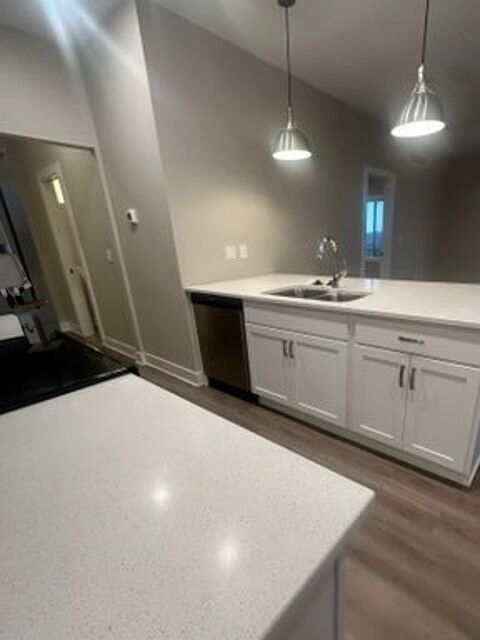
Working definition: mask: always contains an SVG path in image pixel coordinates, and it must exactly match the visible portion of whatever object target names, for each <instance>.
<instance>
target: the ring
mask: <svg viewBox="0 0 480 640" xmlns="http://www.w3.org/2000/svg"><path fill="white" fill-rule="evenodd" d="M29 304H30V305H29ZM48 304H49V301H48V300H46V299H33V300H29V301H26V302H25V304H24V305H17V304H15V305H14V306H13V307H14V308H16V309H28V308H32V309H36V308H39V307H43V306H46V305H48Z"/></svg>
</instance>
